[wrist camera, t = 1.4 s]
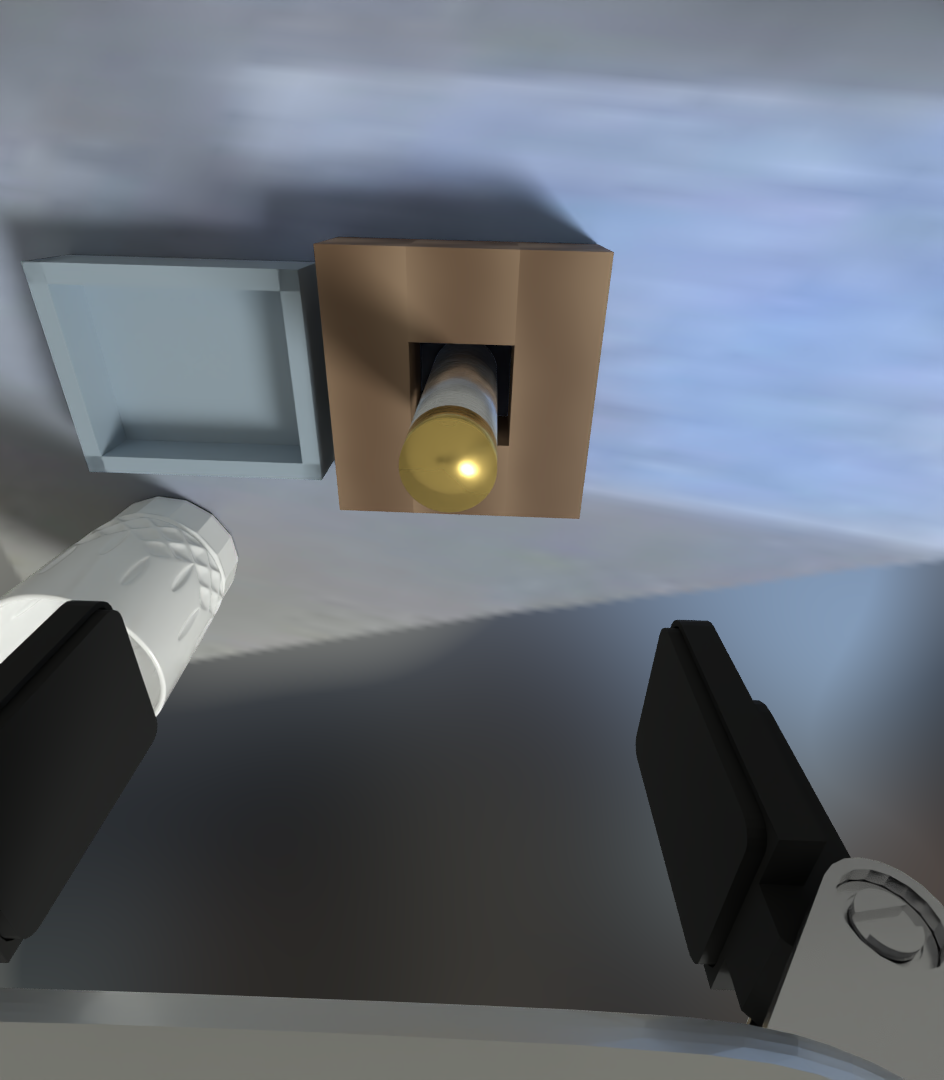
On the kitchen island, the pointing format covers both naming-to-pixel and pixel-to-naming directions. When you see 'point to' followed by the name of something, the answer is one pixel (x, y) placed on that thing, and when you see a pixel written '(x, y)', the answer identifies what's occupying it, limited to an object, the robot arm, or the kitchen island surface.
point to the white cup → (137, 585)
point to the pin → (454, 432)
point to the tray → (189, 363)
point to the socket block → (463, 318)
